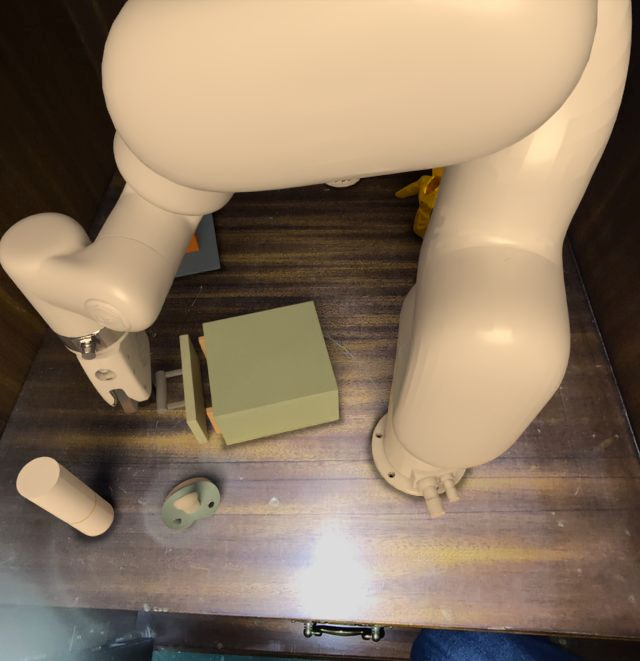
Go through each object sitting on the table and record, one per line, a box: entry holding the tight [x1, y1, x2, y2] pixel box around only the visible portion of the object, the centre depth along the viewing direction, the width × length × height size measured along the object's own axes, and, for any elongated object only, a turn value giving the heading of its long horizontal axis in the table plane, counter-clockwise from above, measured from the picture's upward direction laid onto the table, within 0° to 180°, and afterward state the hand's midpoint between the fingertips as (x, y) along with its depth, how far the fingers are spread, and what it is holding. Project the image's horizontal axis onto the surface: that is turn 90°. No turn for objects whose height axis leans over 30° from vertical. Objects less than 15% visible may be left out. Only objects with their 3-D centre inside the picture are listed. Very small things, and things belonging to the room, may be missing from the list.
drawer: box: [154, 333, 222, 445], centre depth 70 cm, size 19×13×7 cm
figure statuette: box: [394, 167, 444, 240], centre depth 82 cm, size 18×8×22 cm, turn 33°
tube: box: [15, 456, 115, 537], centre depth 59 cm, size 4×4×15 cm
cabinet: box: [202, 300, 340, 446], centre depth 71 cm, size 16×15×9 cm
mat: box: [175, 212, 221, 278], centre depth 92 cm, size 14×12×1 cm
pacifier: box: [160, 477, 221, 531], centre depth 63 cm, size 7×6×6 cm
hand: (146, 399), depth 70 cm, fingers closed
